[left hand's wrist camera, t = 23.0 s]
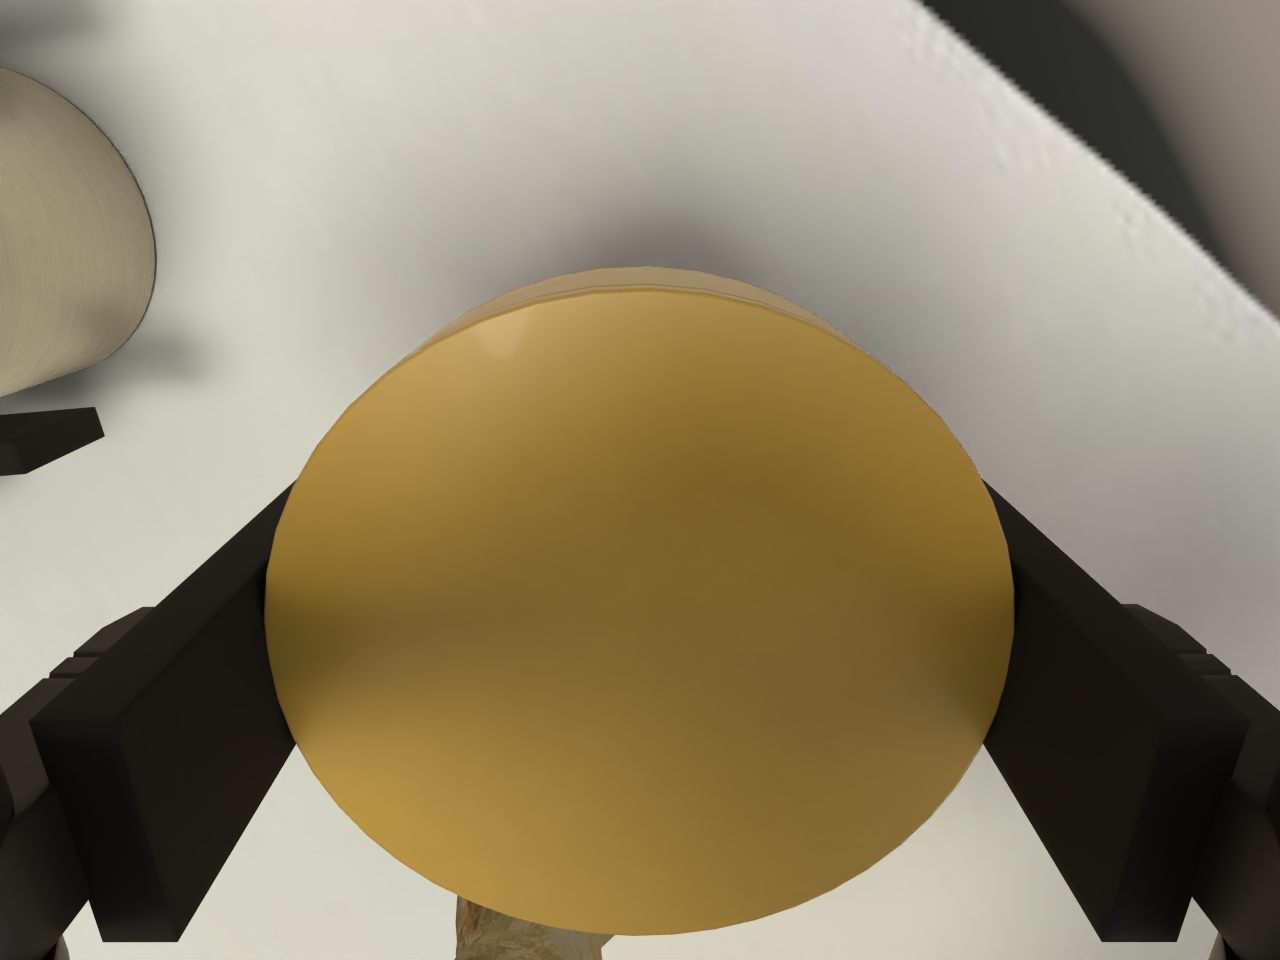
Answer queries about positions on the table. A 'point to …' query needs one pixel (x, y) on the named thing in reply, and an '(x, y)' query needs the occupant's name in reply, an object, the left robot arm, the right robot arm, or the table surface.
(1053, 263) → the table surface
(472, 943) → the sculpture
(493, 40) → the table surface
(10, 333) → the jar
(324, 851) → the table surface
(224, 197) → the table surface
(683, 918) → the lid
